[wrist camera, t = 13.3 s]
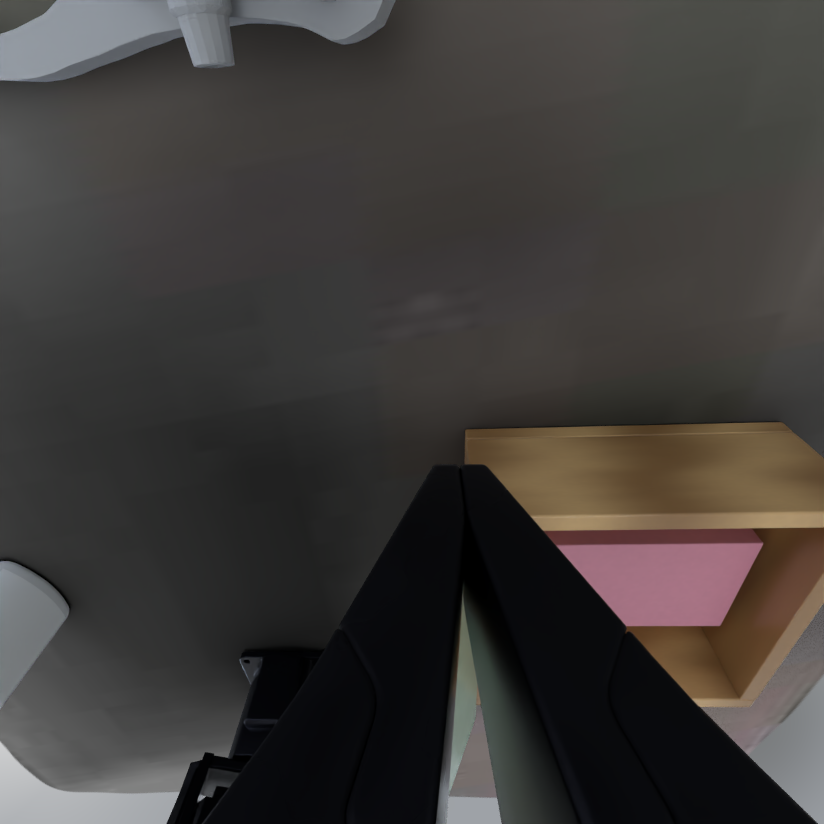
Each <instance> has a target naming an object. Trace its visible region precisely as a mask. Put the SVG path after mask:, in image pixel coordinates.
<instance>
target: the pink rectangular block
mask: <svg viewBox="0 0 824 824" xmlns="http://www.w3.org/2000/svg"><path fill="white" fill-rule="evenodd" d="M544 532H545V533H546V534H547V536H548V537H549V538H550V539H551V540H552V541H553V542H554V544H555V545H556V546H557V547H558V548H559V549H560V550H561V552H562V553H563V554H564V555H565V556H566V557H567V559H568V560H569V561H570V562H571V563H572V564H573V565H574V567H575V568H576V569H577V570H578V571H579V572H580V573H581V575H582V576H583V577H584V578H585V579H586V580H587V581H588V583H589V584H590V585H591V586H592V587H593V588H594V589H595V591H596V592H597V593H598V594H599V595H600V596H601V597H602V599H603V600H604V601H605V602H606V603H607V604H608V606H609V607H610V608H611V609H612V610H613V611H614V612H615V614H616V615H617V616H618V617H619V618H620V619H621V620H622V622H623V623H624V624H625V625H626V626H720V625H721V623H722V622H723V620H724V618H725V616H726V614H727V612H728V610H729V608H730V606H731V604H732V603H733V601H734V599H735V597H736V595H737V593H738V591H739V589H740V587H741V585H742V583H743V582H744V580H745V578H746V576H747V574H748V572H749V570H750V568H751V566H752V564H753V563H754V561H755V559H756V557H757V555H758V553H759V551H760V549H761V547H762V545H763V542H762V541H761V539H760V538H759V537H758V536H757V534H756V533H755V532H754V531H753V529H752V528H744V529H658V530H573V531H544Z"/></svg>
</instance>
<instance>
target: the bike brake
mask: <svg viewBox="0 0 824 824" xmlns="http://www.w3.org/2000/svg"><path fill="white" fill-rule="evenodd" d="M395 1H396V0H57V1H56V2H55V3H54V4H53V5H52V6H51V7H50V8H49V9H48V10H47V12H46V13H45V14H43V15H41V16H39V17H37V18H35V19H33V20H31V21H30V22H28V23H26V24H24V25H22V26H20V27H18V28H16V29H14V30H11V31H8V32H5V33H2V34H0V80H3V81H31V82H50V81H58V80H65V79H68V78H72V77H75V76H79V75H82V74H84V73H86V72H89V71H91V70H93V69H96V68H98V67H101V66H104V65H106V64H109V63H112V62H115V61H118V60H121V59H124V58H126V57H129V56H131V55H133V54H136V53H138V52H141V51H143V50H145V49H148V48H151V47H154V46H157V45H160V44H163V43H166V42H168V41H171V40H173V39H176V38H180V37H184V39H185V42H186V45H187V48H188V50H189V53H190V56H191V59H192V62H193V65H194V67H199V68H222V67H229V66H233V65H235V63H234V55H233V48H232V40H231V33H230V26H236V25H243V24H249V23H258V24H280V25H288V26H295V27H302V28H306V29H309V30H311V31H313V32H315V33H317V34H319V35H321V36H323V37H325V38H327V39H329V40H331V41H333V42H336V43H339V44H342V45H346V44H352V43H357V42H359V41H361V40H363V39H366V38H368V37H369V36H371V35H372V34H373V33H375V32H376V31H378V30H379V29H380V28H382V27H383V26H385V24H386V21H387V19H388V17H389V14H390V12H391V10H392V8H393V5H394V3H395Z"/></svg>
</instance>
